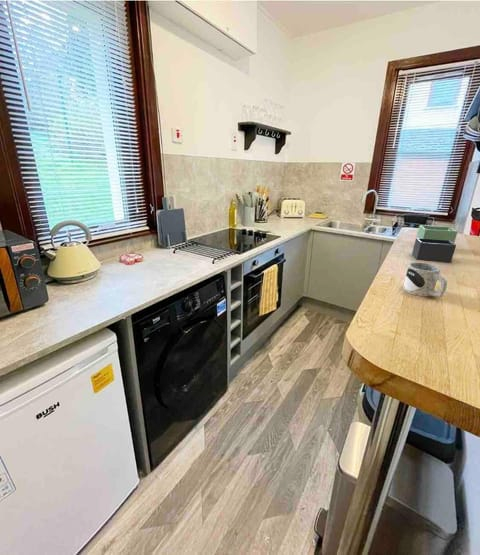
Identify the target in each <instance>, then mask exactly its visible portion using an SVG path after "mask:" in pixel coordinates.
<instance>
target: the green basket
mask: <svg viewBox="0 0 480 555" xmlns="http://www.w3.org/2000/svg"><path fill="white" fill-rule="evenodd" d="M457 235H458V230H456V229H454V228H453V227H451V226H445V225H444V226H443V225H428V224H427V225H424V224H419V227H418V230H417V233H416V236H415V237H416V238H424V239H438V240H450V241H451V242H452V243H454V244H455V243H456V242H455V241H456V238H457ZM416 238H415V239H416Z"/></svg>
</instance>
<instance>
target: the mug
mask: <svg viewBox="0 0 480 555" xmlns="http://www.w3.org/2000/svg"><path fill="white" fill-rule="evenodd" d="M440 272H441V267H440V266H437V265H435V264H432V263H427V262H421V261H412V262H409V263H408V266H407V270H406V273H405V278H404V283H403V286H402V290H403V291H404V292H406V293H408V294H411V295H414V296H418V297H431V296H433V297H436V298H442V297H443V296H444V295H445V293H446V290H447V287H448V280H447V279H445V278H444V277H443V276H442V275H441V274H440ZM438 281H439V282H440V288H439V291H437V290H435V288H436V285H437V282H438Z"/></svg>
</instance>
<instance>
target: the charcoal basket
mask: <svg viewBox="0 0 480 555" xmlns="http://www.w3.org/2000/svg"><path fill="white" fill-rule="evenodd" d="M456 247H457V244H456V243H455V242H454V243H452V242H451V241H450V240H438V239H424V238H415V240H414V245H413V248H412V252H411V255H412V256H413V257H414V259H415V260H417V261H427V262H437V263H448V264H449V263H452V260H453V257H454V253H455V250H456Z"/></svg>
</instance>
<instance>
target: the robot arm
mask: <svg viewBox="0 0 480 555" xmlns="http://www.w3.org/2000/svg"><path fill="white" fill-rule="evenodd" d="M475 173H476V174H480V162H478V165H477V170H476V172H475Z"/></svg>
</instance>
